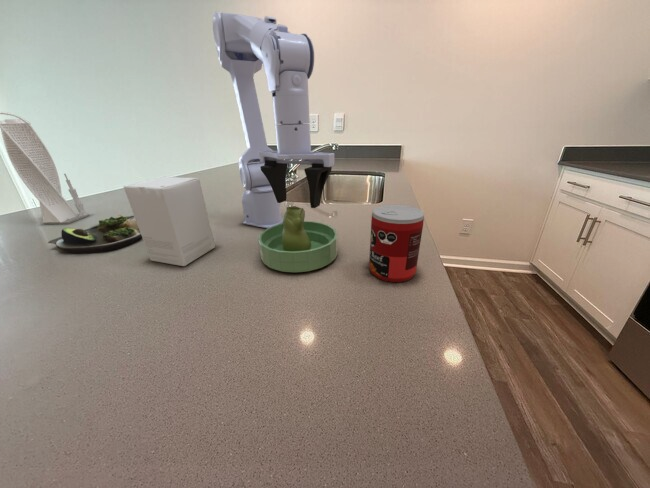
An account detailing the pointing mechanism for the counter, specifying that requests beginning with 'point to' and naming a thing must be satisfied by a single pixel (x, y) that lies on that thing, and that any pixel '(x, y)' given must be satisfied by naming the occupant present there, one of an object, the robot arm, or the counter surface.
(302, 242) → the pear
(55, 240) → the salad plate
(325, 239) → the bowl
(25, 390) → the counter surface
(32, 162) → the skyscraper
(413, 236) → the canned food
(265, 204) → the robot arm
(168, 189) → the white product box
